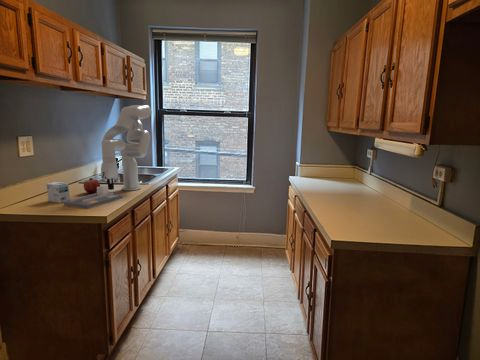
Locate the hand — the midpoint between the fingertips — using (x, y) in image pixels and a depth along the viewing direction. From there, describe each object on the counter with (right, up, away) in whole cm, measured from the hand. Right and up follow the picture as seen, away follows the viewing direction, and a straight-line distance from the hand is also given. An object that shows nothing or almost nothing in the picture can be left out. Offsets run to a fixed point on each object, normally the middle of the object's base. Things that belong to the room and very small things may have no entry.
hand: (111, 189), depth 201 cm
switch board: (-5, -7, -12) cm, 15 cm away
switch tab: (-3, -3, -6) cm, 7 cm away
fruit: (-16, -3, +11) cm, 20 cm away
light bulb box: (-26, -7, -11) cm, 29 cm away
